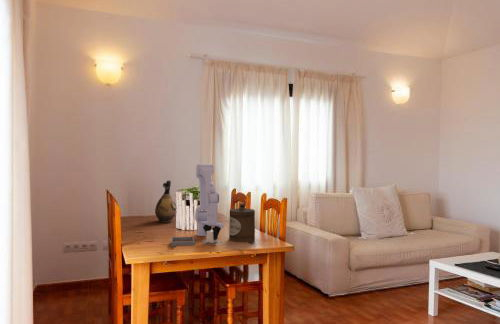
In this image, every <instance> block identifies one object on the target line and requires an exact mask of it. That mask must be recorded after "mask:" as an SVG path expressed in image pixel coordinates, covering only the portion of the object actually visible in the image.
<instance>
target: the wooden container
mask: <svg viewBox="0 0 500 324" xmlns="http://www.w3.org/2000/svg"><path fill="white" fill-rule="evenodd" d="M255 215H256V211H255V209H253V208H246V204H245V203H244V202H243V203H240V204H239V207H238V208H231V209H229V226H228V227H229V228H228V229H229V230H228V231H229V232H228V234H229V237H228V239H229V241H231V242H236V243H248V244H253V243H255V242H256V241H255V240H256V220H255V219H256V218H255Z"/></svg>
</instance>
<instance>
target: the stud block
mask: <svg viewBox="0 0 500 324" xmlns="http://www.w3.org/2000/svg"><path fill="white" fill-rule="evenodd" d="M201 241H202V244H203V246H216V245H218V246H220V245H223V244H222V242H221V241H222V240H220V239H218V242H214V243H210V242H206V239H202V240H201Z"/></svg>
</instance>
